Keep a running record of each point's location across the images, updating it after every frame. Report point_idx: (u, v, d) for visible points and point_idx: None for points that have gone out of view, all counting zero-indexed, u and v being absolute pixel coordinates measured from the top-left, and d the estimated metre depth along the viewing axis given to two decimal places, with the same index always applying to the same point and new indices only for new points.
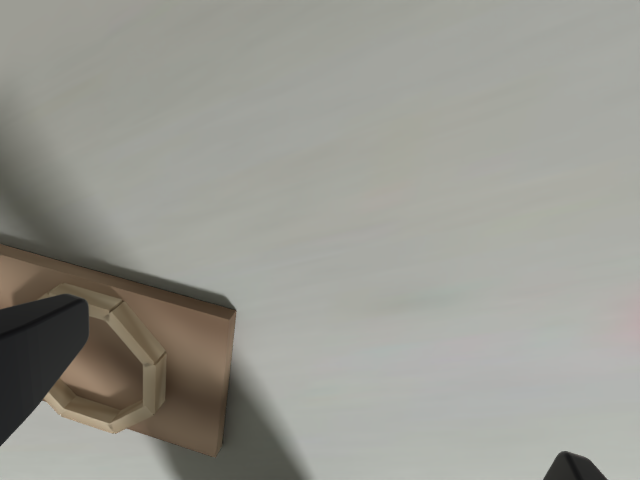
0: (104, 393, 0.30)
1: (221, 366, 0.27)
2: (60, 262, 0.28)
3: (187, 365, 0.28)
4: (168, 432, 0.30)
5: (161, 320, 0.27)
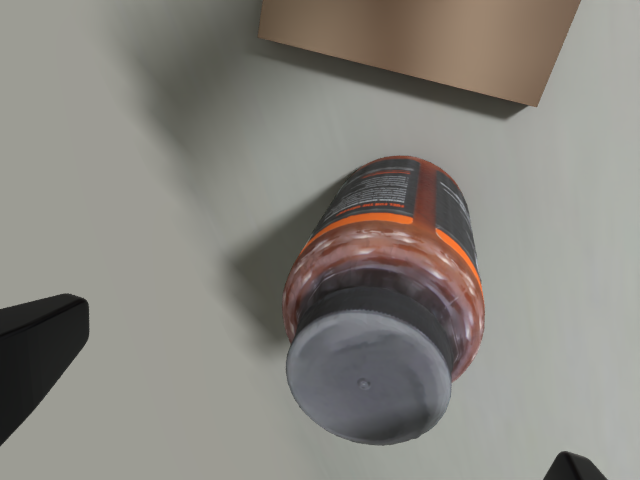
0: None
1: None
2: None
3: None
4: None
5: None
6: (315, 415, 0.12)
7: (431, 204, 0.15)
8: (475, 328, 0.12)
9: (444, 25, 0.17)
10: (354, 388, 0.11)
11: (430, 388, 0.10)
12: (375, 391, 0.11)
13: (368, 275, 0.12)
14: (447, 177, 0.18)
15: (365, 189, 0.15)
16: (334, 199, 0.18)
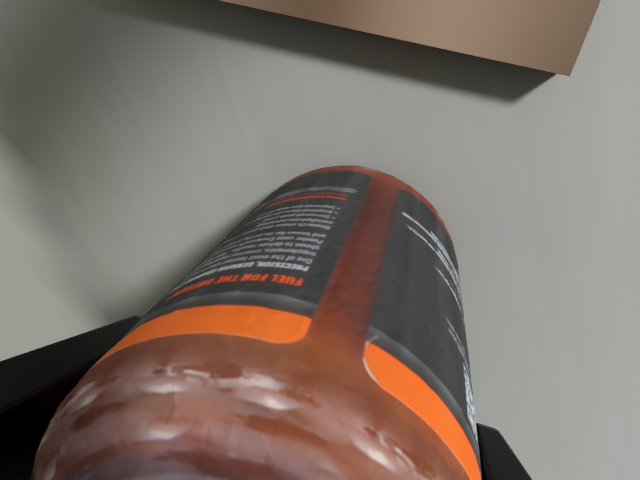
0: None
1: None
2: None
3: None
4: None
5: None
6: None
7: (373, 268, 0.07)
8: None
9: None
10: None
11: None
12: None
13: None
14: (418, 201, 0.11)
15: (251, 234, 0.08)
16: None
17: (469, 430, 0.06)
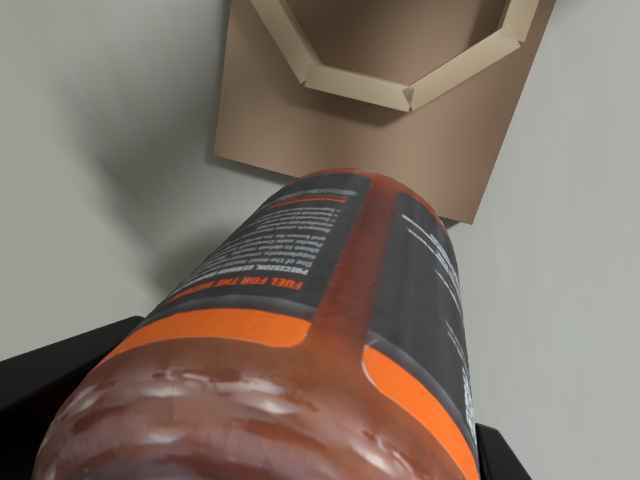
0: None
1: None
2: None
3: None
4: None
5: None
6: None
7: (372, 271, 0.07)
8: None
9: (384, 151, 0.18)
10: None
11: None
12: None
13: None
14: (418, 203, 0.11)
15: (251, 237, 0.08)
16: None
17: (468, 433, 0.06)
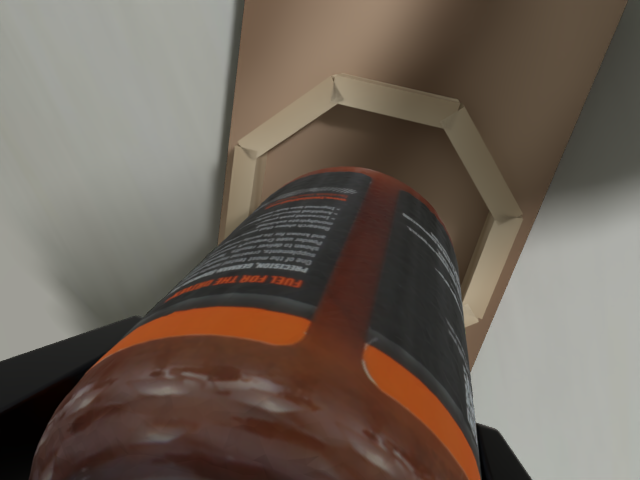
0: (449, 231, 0.16)
1: None
2: None
3: (366, 30, 0.14)
4: (549, 109, 0.14)
5: (276, 69, 0.15)
6: None
7: (372, 269, 0.07)
8: None
9: None
10: None
11: None
12: None
13: None
14: (418, 201, 0.11)
15: (250, 235, 0.08)
16: None
17: (469, 433, 0.06)
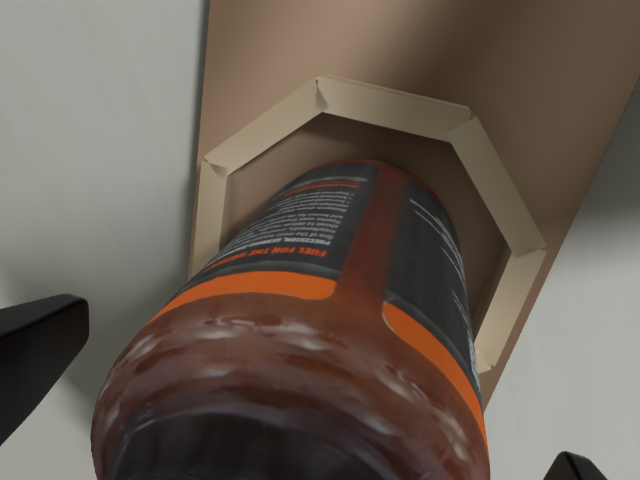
0: None
1: None
2: None
3: (356, 23, 0.12)
4: (579, 118, 0.12)
5: (250, 70, 0.13)
6: None
7: (385, 244, 0.08)
8: None
9: None
10: None
11: None
12: None
13: (215, 434, 0.05)
14: (424, 190, 0.12)
15: (274, 217, 0.09)
16: None
17: (473, 381, 0.07)
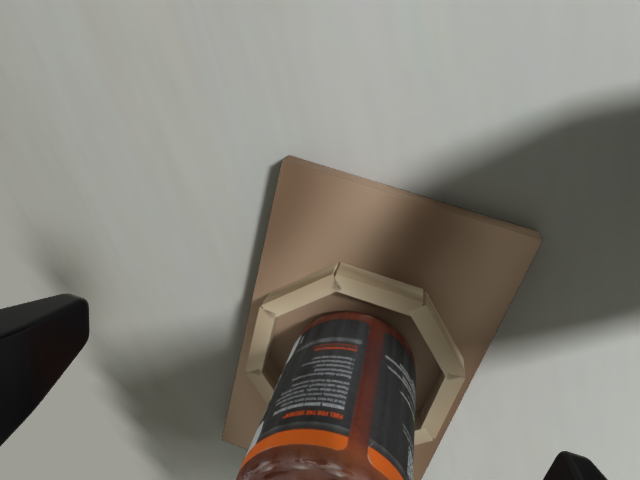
0: None
1: (357, 188, 0.19)
2: None
3: (359, 238, 0.20)
4: (486, 303, 0.20)
5: (292, 253, 0.21)
6: None
7: (370, 403, 0.16)
8: None
9: None
10: None
11: None
12: None
13: None
14: (394, 340, 0.20)
15: (313, 377, 0.17)
16: (288, 365, 0.19)
17: (407, 478, 0.15)
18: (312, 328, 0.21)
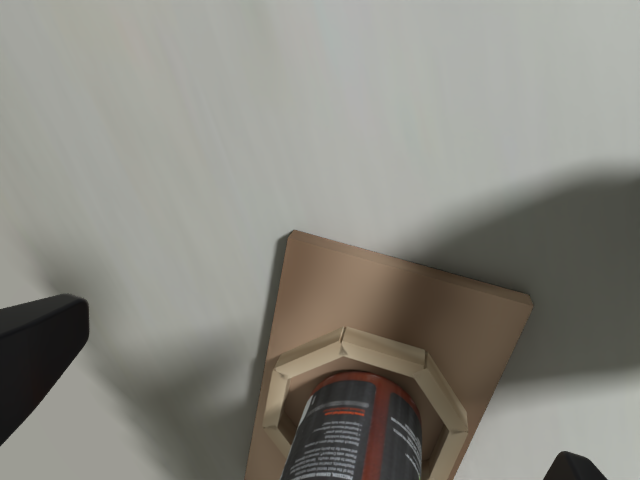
0: None
1: (358, 261, 0.21)
2: None
3: (362, 305, 0.21)
4: (485, 362, 0.21)
5: (301, 318, 0.22)
6: None
7: (377, 470, 0.17)
8: None
9: None
10: None
11: None
12: None
13: None
14: (400, 399, 0.21)
15: (323, 445, 0.18)
16: (301, 428, 0.21)
17: None
18: (322, 389, 0.22)
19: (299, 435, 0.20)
